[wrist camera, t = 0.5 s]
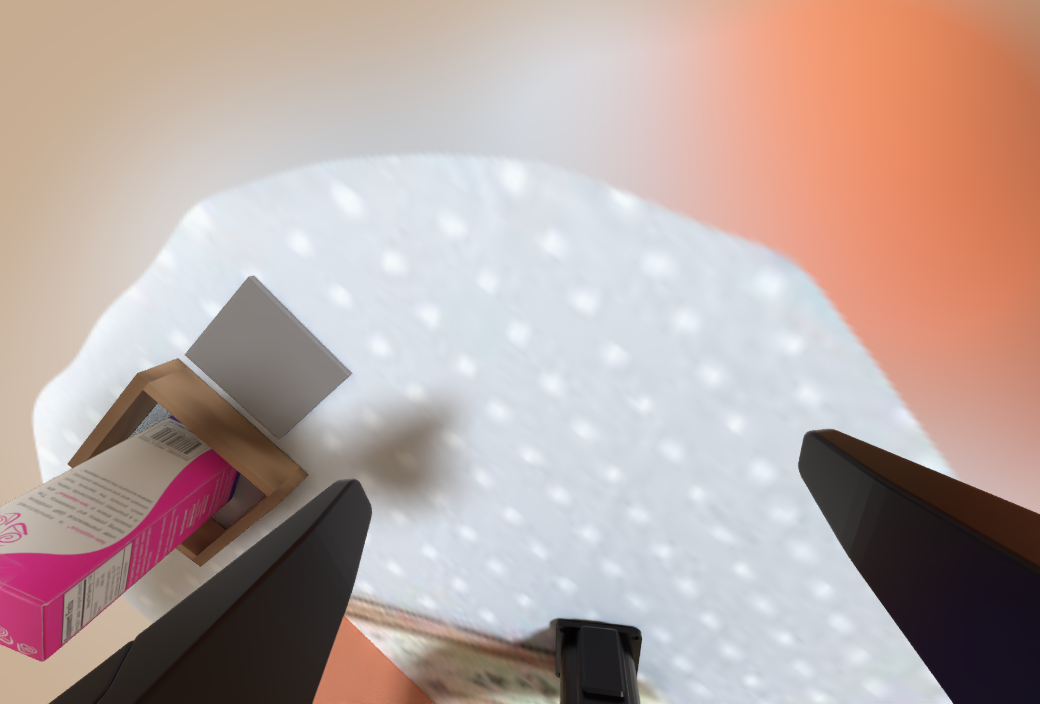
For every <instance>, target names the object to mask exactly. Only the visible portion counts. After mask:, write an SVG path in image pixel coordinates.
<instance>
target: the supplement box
mask: <svg viewBox="0 0 1040 704" xmlns="http://www.w3.org/2000/svg"><path fill="white" fill-rule="evenodd" d="M238 476H239V472H238V471H237V470H236V469H235V468H234V467H232V466H231V465H230V464H229V463H228V462H227V461H225V460H224V459H223V458H222V457H221V456H220V455H218V454H217V453H216V452H215V451H214V450H213V449H211V448H210V447H209V446H208V445H207V444H206V443H204V442H203V441H202V440H201V439H200V438H199V437H197V436H196V435H195V434H194V433H193V432H192V431H190V430H189V429H188V428H187V427H186V426H184V425H183V424H182V423H181V422H180V421H179V420H177V419H176V418H175V417H174V416H173V415H172V416H170V417H169V418H166V419H164V420H162V421H160V422H159V423H157V424H155V425H153V426H151V427H149V428H148V429H146V430H144V431H142V432H140V433H138V434H136V435H134V436H132V437H130V438H129V439H127V440H125V441H123V442H121V443H119V444H117V445H115V446H114V447H112V448H110V449H108V450H106V451H104V452H102V453H100V454H99V455H97V456H95V457H93V458H91V459H89V460H87V461H85V462H83V463H82V464H80V465H78V466H76V467H74V468H72V469H70V470H69V471H67V472H65V473H63V474H61V475H59V476H57V477H55V478H53V479H52V480H50V481H48V482H46V483H44V484H42V485H40V486H38V487H37V488H35V489H33V490H31V491H29V492H27V493H25V494H23V495H21V496H20V497H18V498H16V499H14V500H12V501H10V502H8V503H6V504H5V505H3V506H1V507H0V644H1V645H3V646H6V647H8V648H11V649H13V650H15V651H18V652H20V653H22V654H24V655H27V656H29V657H32V658H34V659H36V660H39V661H45V660H46V659H48V658H49V657H50V656H51V655H53V654H54V653H55V652H56V651H57V650H59V648H61V647H62V646H63V645H64V644H65V643H67V642H68V641H69V640H70V639H71V638H72V637H73V636H75V635H76V634H77V633H78V632H79V631H80V630H82V629H83V628H84V627H85V626H86V625H87V624H89V623H90V622H91V621H92V620H93V619H94V618H95V617H96V616H98V615H99V614H100V613H101V612H102V611H103V610H104V609H106V607H108V606H109V605H110V604H111V603H113V602H114V601H115V600H116V599H117V598H118V597H120V596H121V595H122V594H123V593H124V592H125V591H126V590H128V589H129V588H130V587H131V586H132V585H133V584H134V583H136V582H137V581H138V580H139V579H140V578H141V577H143V576H144V575H145V574H146V573H147V572H148V571H149V570H151V569H152V568H153V567H154V566H155V565H156V564H157V563H158V562H160V561H161V560H162V559H163V558H164V557H165V556H166V555H168V554H169V553H170V552H171V551H172V550H174V549H175V548H176V547H177V546H178V545H179V544H180V543H182V542H183V541H184V540H185V539H186V538H187V537H189V536H190V535H191V534H192V533H193V532H194V531H195V530H196V529H198V528H199V527H200V526H201V525H202V524H203V523H205V522H206V521H207V520H208V519H209V518H210V517H212V516H213V515H214V514H215V513H216V512H217V511H218V510H220V509H221V508H222V507H223V506H224V505H225V504H227V503H228V502H229V501H230V500H231V498H232V495H233V492H234V489H235V486H236V482H237V479H238Z"/></svg>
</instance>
